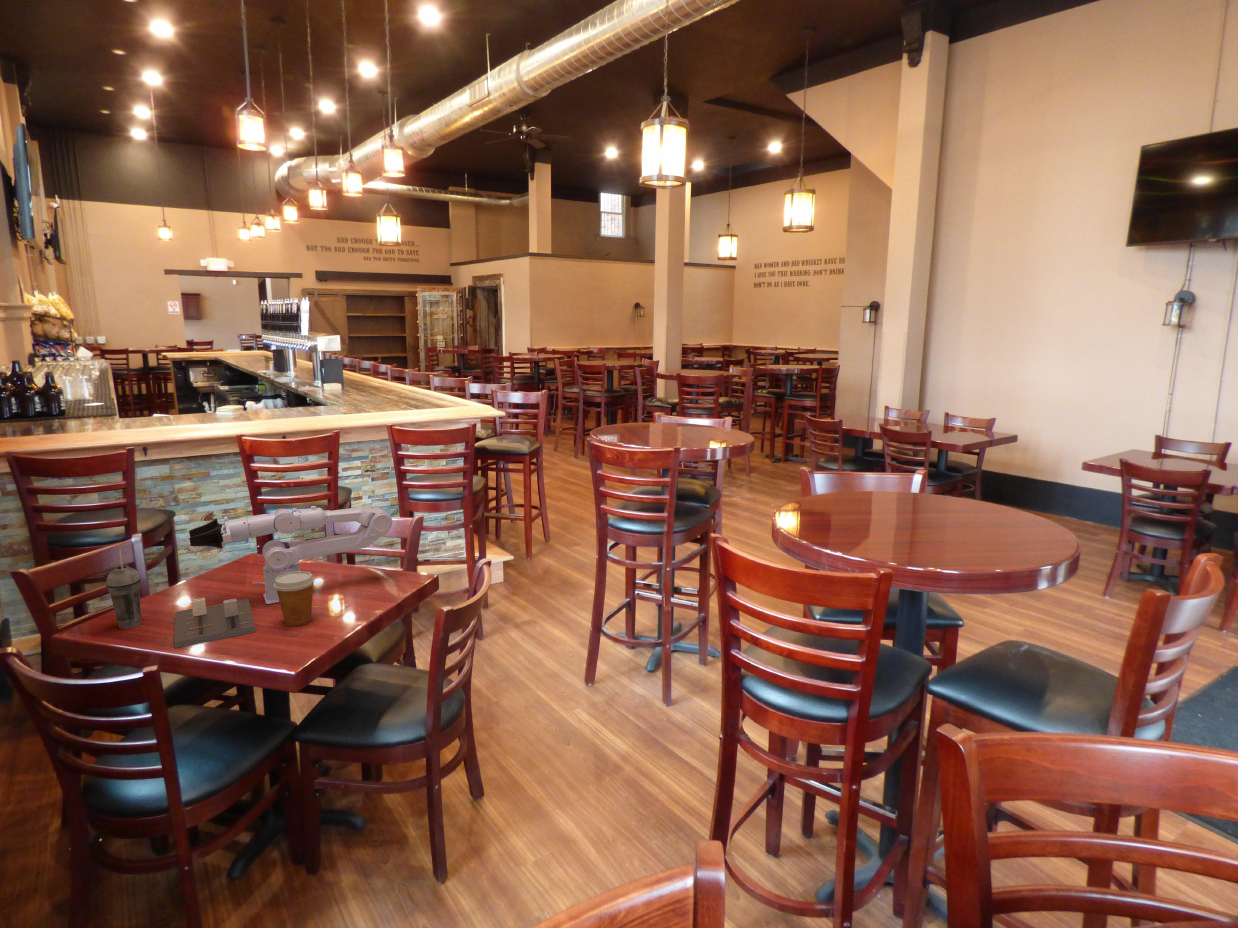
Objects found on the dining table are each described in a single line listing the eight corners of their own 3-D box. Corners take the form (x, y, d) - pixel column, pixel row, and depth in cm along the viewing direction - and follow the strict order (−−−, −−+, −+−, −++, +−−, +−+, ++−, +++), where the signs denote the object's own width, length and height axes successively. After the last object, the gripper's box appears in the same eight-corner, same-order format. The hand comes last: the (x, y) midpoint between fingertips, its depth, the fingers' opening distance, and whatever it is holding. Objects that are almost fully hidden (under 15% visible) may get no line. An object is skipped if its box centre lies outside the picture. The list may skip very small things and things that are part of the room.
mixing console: (248, 603, 192) (248, 598, 192) (255, 631, 175) (254, 625, 174) (176, 617, 184) (175, 611, 183) (175, 648, 166) (174, 641, 166)
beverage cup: (110, 633, 174) (98, 556, 170) (115, 622, 181) (103, 548, 177) (145, 627, 178) (134, 552, 174) (148, 617, 184) (138, 544, 180)
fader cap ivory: (206, 611, 183) (204, 597, 182) (206, 614, 182) (204, 599, 181) (193, 614, 182) (191, 599, 181) (193, 616, 180) (191, 601, 179)
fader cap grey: (238, 612, 182) (236, 597, 182) (238, 614, 181) (236, 599, 180) (225, 615, 181) (223, 600, 180) (225, 617, 180) (223, 602, 179)
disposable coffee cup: (326, 616, 184) (322, 572, 182) (298, 631, 175) (294, 585, 173) (297, 611, 187) (293, 568, 185) (269, 625, 178) (264, 581, 176)
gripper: (243, 507, 195) (186, 517, 188) (247, 519, 183) (187, 530, 176) (247, 531, 196) (191, 542, 190) (252, 545, 184) (192, 556, 177)
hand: (189, 538), depth 183 cm, fingers open, 7 cm apart
